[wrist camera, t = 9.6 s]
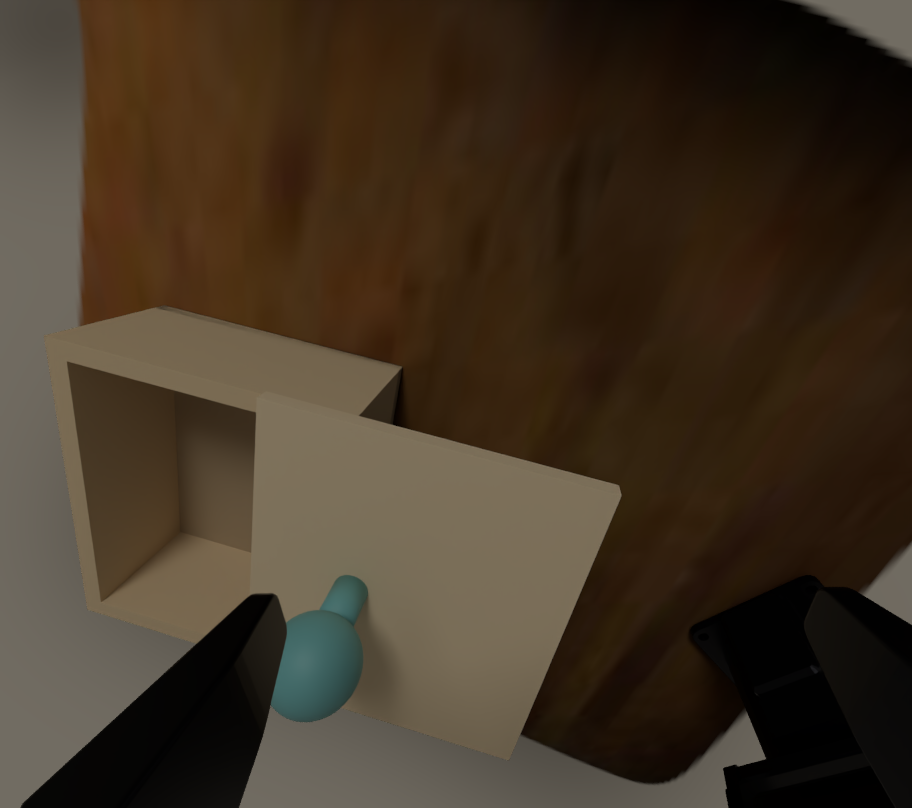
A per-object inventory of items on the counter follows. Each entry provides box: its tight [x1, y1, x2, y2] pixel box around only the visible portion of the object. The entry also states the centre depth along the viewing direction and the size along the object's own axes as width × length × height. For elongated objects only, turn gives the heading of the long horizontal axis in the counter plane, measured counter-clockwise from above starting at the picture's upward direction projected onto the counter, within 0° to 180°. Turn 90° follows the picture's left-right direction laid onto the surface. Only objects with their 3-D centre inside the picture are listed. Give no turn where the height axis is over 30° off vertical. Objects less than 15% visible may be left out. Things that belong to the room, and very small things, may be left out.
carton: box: [44, 306, 402, 644], centre depth 22 cm, size 12×14×6 cm
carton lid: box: [250, 391, 622, 761], centre depth 16 cm, size 12×14×6 cm
